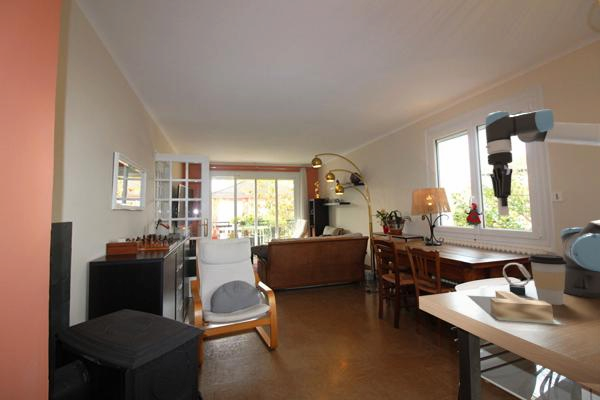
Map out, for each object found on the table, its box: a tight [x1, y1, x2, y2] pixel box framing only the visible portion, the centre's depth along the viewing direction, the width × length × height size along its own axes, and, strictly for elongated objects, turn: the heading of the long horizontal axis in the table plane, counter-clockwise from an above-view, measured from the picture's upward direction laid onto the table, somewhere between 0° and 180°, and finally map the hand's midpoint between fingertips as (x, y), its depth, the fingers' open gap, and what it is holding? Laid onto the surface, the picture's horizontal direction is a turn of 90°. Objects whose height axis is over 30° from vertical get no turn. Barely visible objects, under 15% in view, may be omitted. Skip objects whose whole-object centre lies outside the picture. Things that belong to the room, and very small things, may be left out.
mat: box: [467, 295, 569, 326], centre depth 83 cm, size 16×24×1 cm, turn 164°
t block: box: [490, 290, 554, 321], centre depth 81 cm, size 13×13×4 cm
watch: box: [502, 262, 532, 297], centre depth 98 cm, size 6×8×11 cm
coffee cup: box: [527, 253, 567, 306], centre depth 89 cm, size 9×9×15 cm
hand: (503, 215), depth 102 cm, fingers closed
